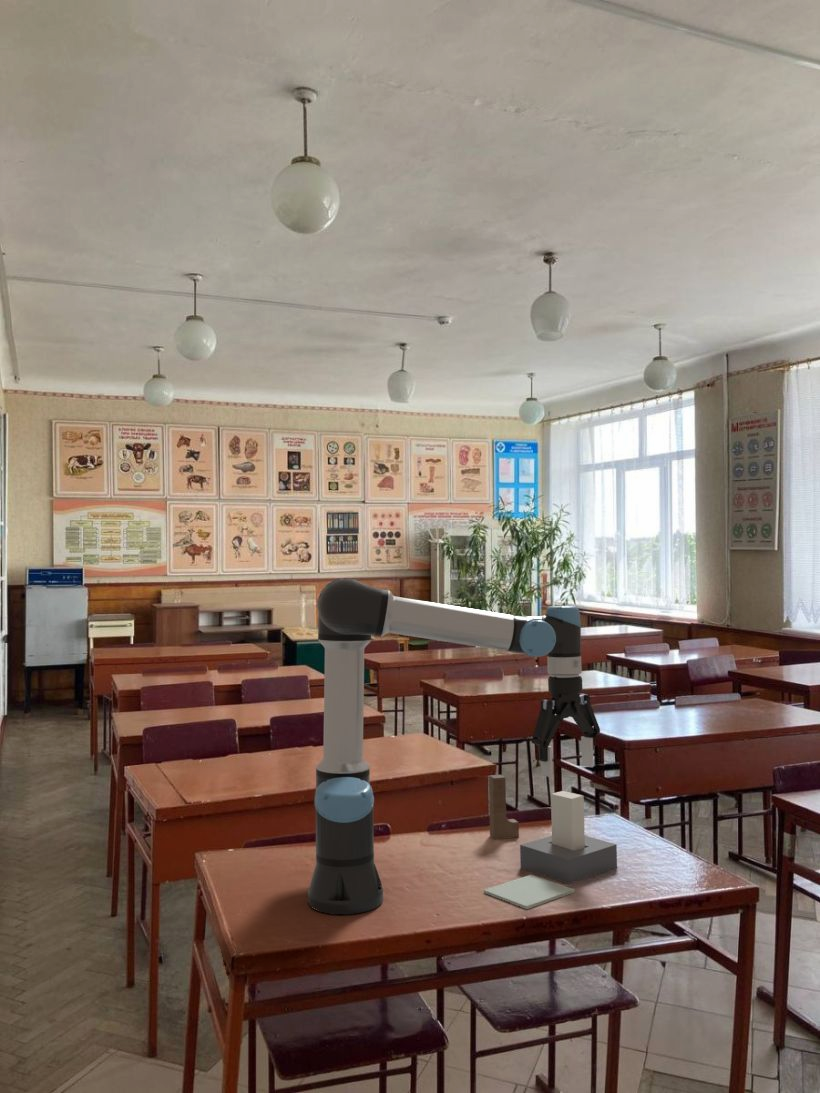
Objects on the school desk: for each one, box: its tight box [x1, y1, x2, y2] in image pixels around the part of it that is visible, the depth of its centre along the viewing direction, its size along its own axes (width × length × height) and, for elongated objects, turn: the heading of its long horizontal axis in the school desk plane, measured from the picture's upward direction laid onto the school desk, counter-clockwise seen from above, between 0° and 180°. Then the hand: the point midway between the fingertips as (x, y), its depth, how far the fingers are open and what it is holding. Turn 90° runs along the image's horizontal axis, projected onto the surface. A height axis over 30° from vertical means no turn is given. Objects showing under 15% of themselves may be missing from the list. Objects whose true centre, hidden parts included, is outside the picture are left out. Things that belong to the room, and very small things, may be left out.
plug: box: [550, 790, 586, 851], centre depth 199 cm, size 4×6×16 cm, turn 39°
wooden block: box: [488, 774, 520, 840], centre depth 223 cm, size 7×3×15 cm, turn 106°
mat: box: [483, 874, 575, 910], centre depth 184 cm, size 14×12×1 cm
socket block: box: [519, 834, 618, 885], centre depth 199 cm, size 16×14×5 cm
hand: (567, 771), depth 200 cm, fingers open, 13 cm apart
